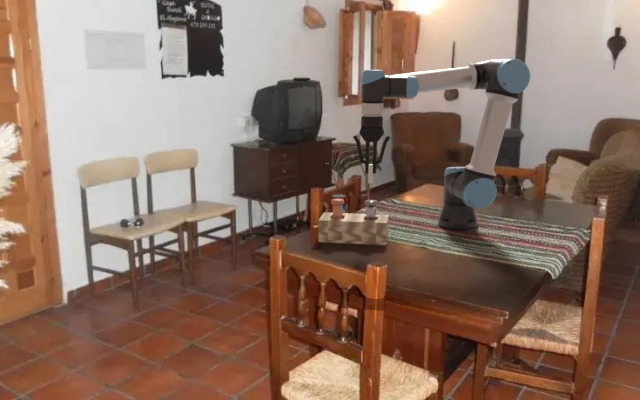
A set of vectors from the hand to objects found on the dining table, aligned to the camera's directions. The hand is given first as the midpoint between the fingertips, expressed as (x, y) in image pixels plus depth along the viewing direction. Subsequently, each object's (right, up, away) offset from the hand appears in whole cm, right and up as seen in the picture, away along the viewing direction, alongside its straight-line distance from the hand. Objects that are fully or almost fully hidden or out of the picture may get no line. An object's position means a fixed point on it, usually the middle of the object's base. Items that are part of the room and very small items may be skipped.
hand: (370, 182), depth 213 cm
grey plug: (0, -15, +3) cm, 15 cm away
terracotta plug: (-11, -14, +5) cm, 19 cm away
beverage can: (-10, -16, +24) cm, 31 cm away
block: (-6, -20, +6) cm, 22 cm away
